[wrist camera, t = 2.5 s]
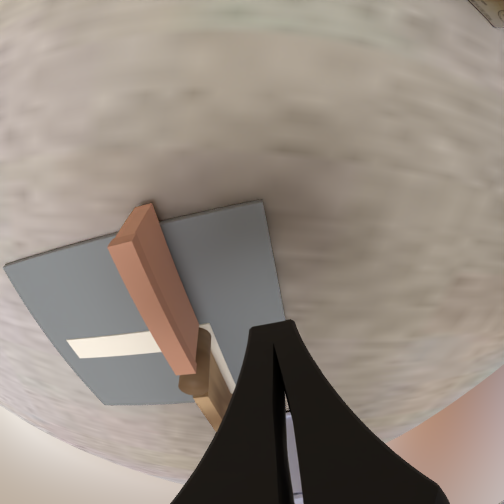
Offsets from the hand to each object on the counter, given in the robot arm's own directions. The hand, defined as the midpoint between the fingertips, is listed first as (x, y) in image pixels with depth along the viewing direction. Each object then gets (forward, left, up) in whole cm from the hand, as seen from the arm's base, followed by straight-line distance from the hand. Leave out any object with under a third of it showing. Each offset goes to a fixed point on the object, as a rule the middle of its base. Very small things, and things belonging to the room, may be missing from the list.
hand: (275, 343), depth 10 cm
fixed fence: (-11, +6, -9) cm, 15 cm away
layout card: (-7, +9, -9) cm, 14 cm away
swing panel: (-1, +5, -8) cm, 10 cm away
